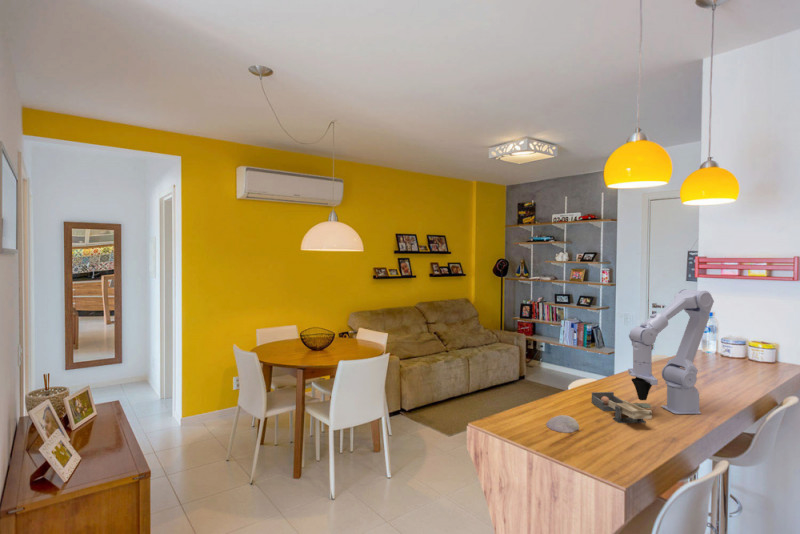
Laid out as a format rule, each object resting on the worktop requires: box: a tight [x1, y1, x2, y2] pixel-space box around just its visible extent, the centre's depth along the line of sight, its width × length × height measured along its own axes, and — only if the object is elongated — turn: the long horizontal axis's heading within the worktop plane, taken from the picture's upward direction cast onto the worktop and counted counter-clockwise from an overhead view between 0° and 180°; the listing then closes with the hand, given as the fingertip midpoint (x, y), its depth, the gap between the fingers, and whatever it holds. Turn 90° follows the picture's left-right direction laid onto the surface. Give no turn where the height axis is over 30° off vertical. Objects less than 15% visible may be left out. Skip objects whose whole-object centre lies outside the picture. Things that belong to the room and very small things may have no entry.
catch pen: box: [591, 391, 623, 412], centre depth 160 cm, size 8×9×4 cm
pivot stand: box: [612, 405, 647, 424], centre depth 146 cm, size 9×4×5 cm, turn 91°
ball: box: [601, 396, 609, 406], centre depth 163 cm, size 3×3×3 cm
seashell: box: [545, 414, 580, 434], centre depth 141 cm, size 10×6×10 cm
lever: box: [608, 399, 653, 420], centre depth 146 cm, size 13×16×2 cm
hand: (642, 399), depth 152 cm, fingers closed
